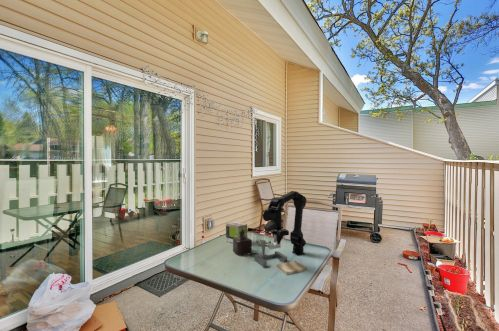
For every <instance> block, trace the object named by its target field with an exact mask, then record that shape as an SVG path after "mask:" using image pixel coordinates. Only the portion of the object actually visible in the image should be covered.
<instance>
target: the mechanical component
mask: <svg viewBox="0 0 499 331" xmlns="http://www.w3.org/2000/svg"><path fill="white" fill-rule="evenodd" d="M255 243H256V246H257V247H261V249H262V250H261V251H262V252H261V254H262V255H261V256H265V254H266V252H265V249H266V247H267V248H268V244H270V243H272V241H271V240H268V241H266V239H256V240H255Z"/></svg>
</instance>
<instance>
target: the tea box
mask: <svg viewBox="0 0 499 331" xmlns="http://www.w3.org/2000/svg"><path fill="white" fill-rule="evenodd" d="M241 229H243V231H245V234H246V237H248V223H243V222H238V221H230V222H227V223H225V240H226V241H225V242H227V241H228V243H230V242H231V243H230V244H233V238H237V237H239V236H240V234H239V231H240V230H241ZM243 236H244V235H243Z"/></svg>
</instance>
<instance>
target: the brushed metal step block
mask: <svg viewBox="0 0 499 331" xmlns="http://www.w3.org/2000/svg"><path fill="white" fill-rule="evenodd" d="M281 242H282V241H281ZM281 242H280V244H278V242H277V236H276V235H275V234H274V237H273V242H271V243H270V244H267V245H268V247H267V248H268V249H270V250H275V249H280V248H281V245H282V244H281Z"/></svg>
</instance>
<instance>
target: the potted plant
mask: <svg viewBox="0 0 499 331" xmlns="http://www.w3.org/2000/svg"><path fill="white" fill-rule="evenodd" d="M239 234H240V236H239V237H237V238H233V243H232V252H233V253H234V254H235V255H238V256H244V255H250V254H252V251H253V250H252V249H253V248H252V247H253V246H252V244H253V243H252V242H253V240H252V239H251V238H249V237H248V236H247V237H246V234H245V231H243V229H241V230H240V231H239ZM243 235H244V236H243Z"/></svg>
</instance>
